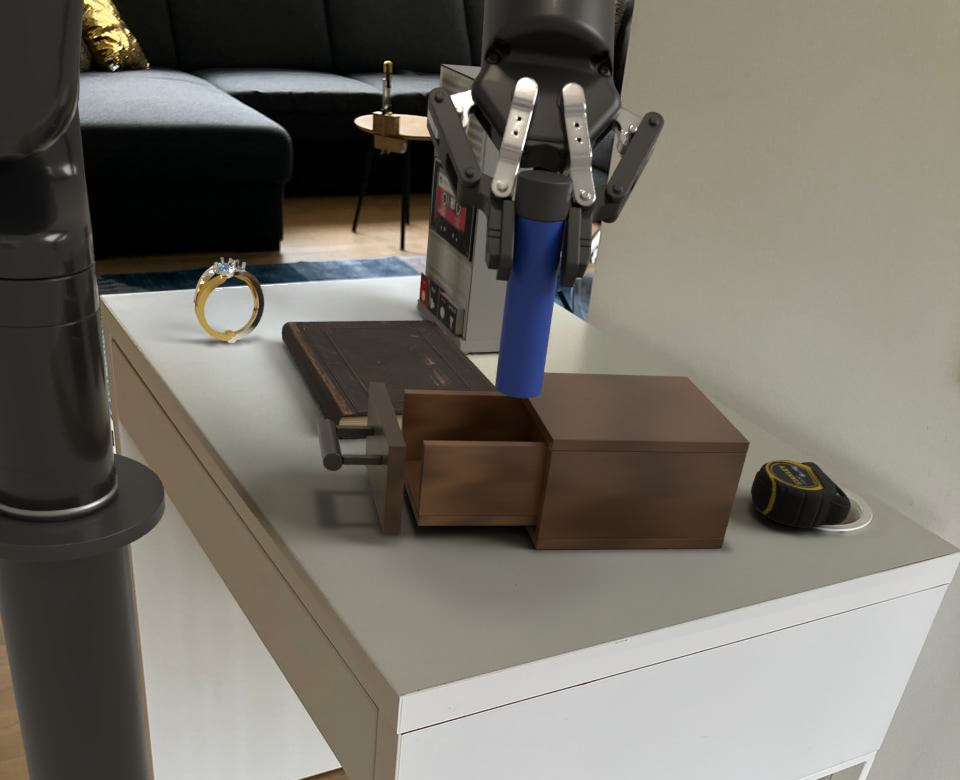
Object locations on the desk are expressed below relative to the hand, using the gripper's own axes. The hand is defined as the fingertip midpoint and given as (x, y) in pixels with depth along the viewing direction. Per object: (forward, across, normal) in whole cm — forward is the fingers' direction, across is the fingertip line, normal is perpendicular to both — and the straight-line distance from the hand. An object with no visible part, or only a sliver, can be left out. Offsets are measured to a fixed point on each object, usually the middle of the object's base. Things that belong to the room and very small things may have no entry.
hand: (537, 275), depth 58 cm
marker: (+4, 0, +7) cm, 8 cm away
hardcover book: (-12, -8, +43) cm, 45 cm away
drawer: (+5, -4, +24) cm, 25 cm away
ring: (-17, -25, +48) cm, 57 cm away
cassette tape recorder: (-24, -1, +55) cm, 60 cm away
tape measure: (+3, +26, +28) cm, 38 cm away
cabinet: (+4, +10, +27) cm, 29 cm away
